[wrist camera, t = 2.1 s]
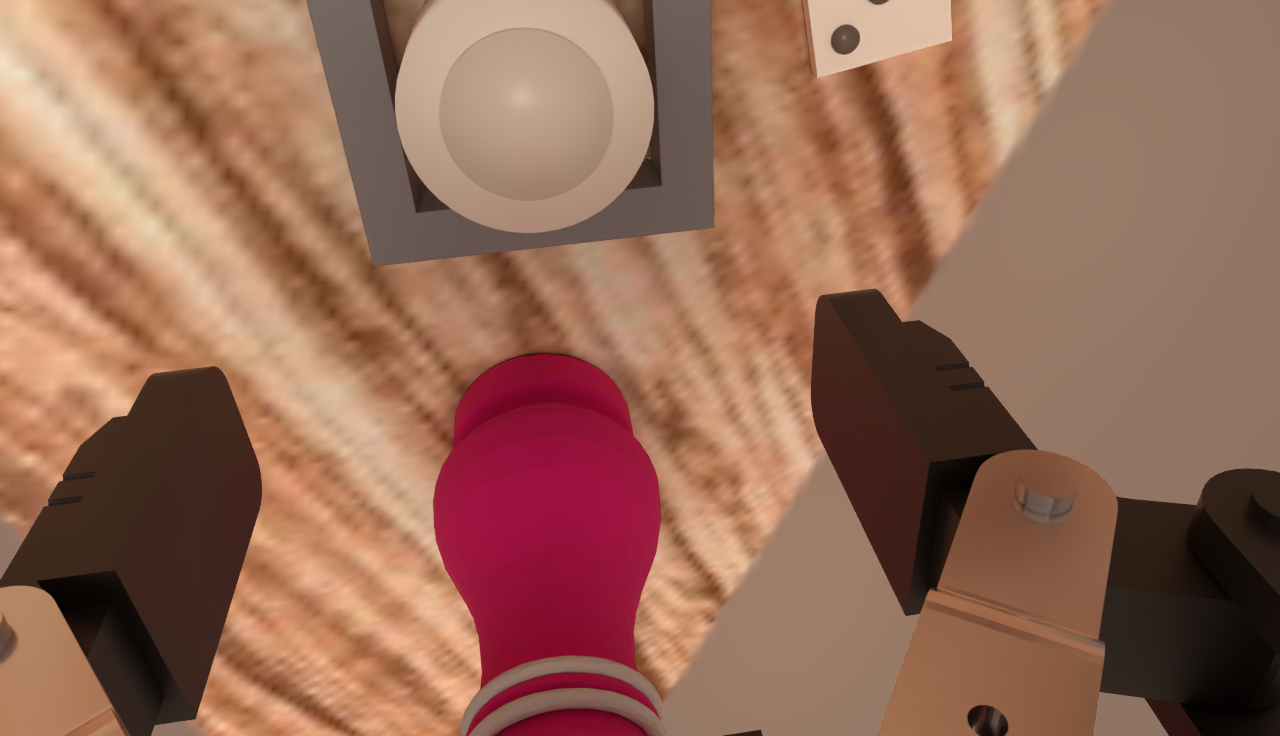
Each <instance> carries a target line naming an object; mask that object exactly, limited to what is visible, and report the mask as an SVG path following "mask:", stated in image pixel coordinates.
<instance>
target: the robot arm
mask: <svg viewBox="0 0 1280 736" xmlns="http://www.w3.org/2000/svg"><path fill="white" fill-rule="evenodd" d="M811 405H812V413H813V418H814V423H815V426H816V430H817V433H818V435H819V437H820V439H821V442H822V444H823V446H824V448H825V450H826V452H827V454H828V456H829V458H830V460H831V462H832V464H833V466H834V468H835V470H836V472H837V475H838V477H839V479H840V481H841V483H842V485H843V487H844V489H845V491H846V493H847V495H848V497H849V500H850V502H851V504H852V506H853V508H854V510H855V512H856V514H857V516H858V518H859V520H860V522H861V524H862V526H863V528H864V531H865V533H866V535H867V537H868V539H869V541H870V543H871V545H872V547H873V549H874V551H875V553H876V555H877V557H878V559H879V562H880V563H881V566H882V568H883V570H884V572H885V574H886V576H887V578H888V580H889V582H890V585H891V587H892V589H893V591H894V593H895V595H896V597H897V599H898V601H899V603H900V605H901V607H902V609H903V611H904V614H905V615H906V616H909V615H915V614H920V616H919V618H918V621H917V624H916V627H915V630H914V632H913V635H912V638H911V641H910V644H909V647H908V649H907V652H906V655H905V658H904V661H903V664H902V666H901V669H900V672H899V675H898V678H897V681H896V684H895V686H894V689H893V692H892V695H891V698H890V700H889V703H888V706H887V709H886V712H885V715H884V717H883V720H882V723H881V726H880V729H879V732H878V734H877V736H1093V733H1094V726H1095V720H1096V713H1097V706H1098V699H1099V692H1105V693H1112V694H1119V695H1127V696H1134V697H1142V698H1145V700H1146V701H1147V703H1148V704H1149V706H1150V707H1151V709H1152V710H1153V712H1154V713H1155V715H1156V716H1157V718H1158V720H1159V721H1160V723H1161V724H1162V726H1163V727H1164V729H1165V730H1166V732H1167V733H1168V735H1169V736H1280V473H1279V472H1275V471H1269V470H1263V469H1234V470H1229V471H1225V472H1222V473H1220V474H1217V475H1215V476H1214V477H1212V478H1211V479H1210V480H1209V481H1208V482H1207V483H1206V484H1205V486H1204V488H1203V490H1202V493H1201V496H1200V498H1199V501H1198V504H1197V505H1188V504H1177V503H1167V502H1157V501H1146V500H1136V499H1135V500H1134V499H1128V498H1121V497H1116V495H1115V493H1114V492H1113V490H1112V488H1111V486H1110V485H1109V484H1108V483H1107V482H1106V480H1105V479H1104V478H1102V477H1101V476H1100V475H1099V474H1098V473H1097V472H1095V471H1094V470H1092V469H1091V468H1089V467H1088V466H1086V465H1084V464H1082V463H1080V462H1079V461H1076V460H1074V459H1071V458H1069V457H1067V456H1063V455H1060V454H1057V453H1052V452H1047V451H1041V450H1038V449H1037V448H1036V447H1035V446H1034V444H1033V443H1032V442H1031V440H1030V439H1029V438H1028V437H1027V436H1026V434H1025V433H1024V432H1023V430H1022V429H1021V428H1020V427H1019V425H1018V424H1017V423H1016V422H1015V420H1014V419H1013V418H1012V417H1011V415H1010V414H1009V413H1008V411H1007V410H1006V409H1005V407H1004V406H1003V405H1002V404H1001V402H1000V401H999V400H998V399H997V397H996V396H995V395H994V394H993V392H992V391H991V390H990V388H989V387H985V386H984V381H983V380H982V378H981V377H980V376H979V375H978V373H977V372H976V371H975V369H974V368H973V367H969V362H968V361H967V359H966V358H965V357H964V355H963V354H962V353H961V352H960V350H959V349H958V348H957V347H956V346H955V344H954V343H953V342H952V340H951V339H950V338H948V337H946V336H945V335H943V334H941V333H940V332H938V331H936V330H935V329H933V328H931V327H929V326H928V325H926V324H925V323H923V322H921V321H920V320H917V321H909V322H902V321H901V320H900V319H899V317H898V316H897V315H896V313H895V312H894V310H893V309H892V308H891V306H890V305H889V304H888V302H887V301H886V299H885V298H884V297H883V295H882V294H881V293H880V292H879V291H878V290H877V289H869V290H861V291H852V292H844V293H836V294H827V295H821V296H820V297H819V299H818V301H817V304H816V311H815V327H814V344H813V361H812V378H811ZM261 498H262V482H261V473H260V468H259V464H258V461H257V458H256V455H255V452H254V450H253V447H252V444H251V442H250V439H249V436H248V434H247V431H246V428H245V426H244V423H243V420H242V418H241V415H240V413H239V410H238V407H237V405H236V402H235V399H234V397H233V394H232V391H231V389H230V386H229V384H228V381H227V379H226V377H225V375H224V374H223V372H222V371H221V370H220V369H219V368H218V367H215V366H212V367H203V368H195V369H187V370H178V371H170V372H161V373H154V374H152V375H151V376H150V377H149V378H148V379H147V381H146V383H145V384H144V386H143V388H142V390H141V392H140V394H139V395H138V397H137V399H136V401H135V403H134V404H133V406H132V408H131V410H130V412H129V414H128V415H127V416H122V417H114V418H112V419H111V420H110V421H108V422H107V423H106V424H105V425H104V426H103V427H101V428H100V429H99V430H98V431H97V432H96V433H94V434H93V435H92V436H91V437H90V438H89V439H87V440H86V441H85V442H84V443H83V444H82V445H80V447H79V449H78V450H77V452H76V454H75V455H74V457H73V459H72V460H71V462H70V464H69V465H68V467H67V469H66V471H65V472H64V474H63V481H60V482H58V484H57V486H56V487H55V489H54V491H53V492H52V494H51V496H50V497H49V499H48V503H49V505H48V506H46V507H44V508H43V509H42V511H41V513H40V514H39V516H38V518H37V519H36V521H35V523H34V524H33V526H32V528H31V529H30V531H29V533H28V535H27V536H26V538H25V540H24V541H23V543H22V545H21V546H20V548H19V550H18V551H17V553H16V555H15V556H14V558H13V560H12V562H11V563H10V565H9V567H8V568H7V570H6V572H5V573H4V575H3V577H2V578H1V580H0V736H151V734H152V731H153V728H154V725H159V724H166V723H172V722H179V721H186V720H193V719H196V715H197V712H198V709H199V706H200V702H201V699H202V696H203V692H204V689H205V686H206V683H207V679H208V676H209V673H210V670H211V666H212V663H213V660H214V657H215V653H216V650H217V647H218V643H219V640H220V637H221V634H222V630H223V627H224V624H225V621H226V617H227V614H228V611H229V608H230V604H231V601H232V598H233V594H234V591H235V588H236V585H237V581H238V578H239V575H240V572H241V568H242V565H243V562H244V559H245V555H246V552H247V549H248V545H249V542H250V539H251V536H252V532H253V529H254V526H255V523H256V519H257V516H258V513H259V509H260V505H261ZM725 736H762V733H761V730H756V731H750V732H744V733H738V734H731V735H725Z"/></svg>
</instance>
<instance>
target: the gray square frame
mask: <svg viewBox="0 0 1280 736" xmlns="http://www.w3.org/2000/svg"><path fill="white" fill-rule="evenodd" d="M307 4H308V8H309V12H310V16H311V20H312V24H313V28H314V32H315V36H316V40H317V44H318V48H319V52H320V55H321V59H322V63H323V67H324V71H325V75H326V79H327V83H328V87H329V91H330V95H331V99H332V103H333V107H334V110H335V114H336V118H337V122H338V126H339V130H340V134H341V138H342V142H343V146H344V150H345V154H346V158H347V162H348V166H349V169H350V173H351V177H352V181H353V185H354V189H355V193H356V197H357V201H358V205H359V209H360V213H361V217H362V221H363V224H364V228H365V232H366V236H367V240H368V244H369V248H370V252H371V256H372V260H373V264H374V266H383V265H392V264H400V263H409V262H418V261H427V260H435V259H444V258H453V257H462V256H470V255H479V254H488V253H497V252H506V251H514V250H523V249H532V248H541V247H549V246H558V245H567V244H576V243H584V242H593V241H602V240H611V239H619V238H628V237H637V236H646V235H655V234H663V233H672V232H681V231H690V230H698V229H707V228H714V181H713V123H712V65H711V7H710V0H643V6H644V23H645V41H646V59H647V69H648V72H649V76H650V80H651V84H652V90H653V98H654V122H653V129H652V135H651V147H652V160H650V161H643V162H642V164H641V166H640V168H639V169H638V171H637V173H636V174H635V176H634V178H633V179H632V181H631V182H630V183H629V184H628V186H627V187H626V188H625V190H624V191H623V192H622V193H621V194H620V195H619V196H618V197H617V198H616V199H615V200H614V201H613V202H611V203H610V204H609V205H608V206H606V207H605V208H604V209H602V210H601V211H600V212H598V213H596V214H595V215H593V216H591V217H590V218H588V219H586V220H584V221H581V222H579V223H577V224H575V225H572V226H569V227H565V228H562V229H559V230H553V231H547V232H539V233H518V232H508V231H503V230H497V229H494V228H490V227H487V226H484V225H481V224H479V223H476V222H474V221H472V220H470V219H467V218H465V217H464V216H462V215H460V214H459V213H457V212H455V211H454V210H452V209H451V208H449V207H448V206H447V205H446V204H444V203H443V202H442V201H440V200H439V199H438V198H437V197H436V196H435V195H434V194H433V193H432V192H431V191H430V190H429V189H428V188H427V187H426V185H421V183H420V179H419V176H418V175H417V173H416V172H415V170H414V168H413V167H412V165H411V163H410V162H409V160H408V157H407V155H406V153H405V150H404V148H403V146H402V143H401V139H400V136H399V132H398V128H397V121H396V114H395V92H396V84H397V78H398V74H397V69H396V64H395V60H394V55H393V50H392V45H391V41H390V36H389V31H388V26H387V22H386V17H385V12H384V7H383V3H382V0H307Z"/></svg>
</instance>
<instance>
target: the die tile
mask: <svg viewBox="0 0 1280 736" xmlns="http://www.w3.org/2000/svg"><path fill="white" fill-rule="evenodd" d="M802 1H803V8H804V16H805V24H806V31H807V39H808V47H809V55H810V62H811V70H812V73H813V74H814V75H815V76H816V77H817V78H820V77H824V76H827V75H831V74H834V73H838V72H842V71H845V70H849V69H852V68H856V67H859V66H863V65H866V64H870V63H874V62H877V61H881V60H884V59H888V58H891V57H895V56H898V55H902V54H905V53H909V52H913V51H916V50H920V49H923V48H927V47H930V46H934V45H937V44H941V43H945V42H948V41H952V26H951V0H802Z"/></svg>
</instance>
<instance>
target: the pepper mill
mask: <svg viewBox="0 0 1280 736" xmlns="http://www.w3.org/2000/svg"><path fill="white" fill-rule="evenodd" d="M433 509H434V528H435V535H436V542H437V545H438V548H439V551H440V554H441V557H442V560H443V563H444V566H445V569H446V571H447V572H448V574H449V576H450V578H451V579H452V581H453V583H454V584H455V586H456V588H457V589H458V591H459V593H460V595H461V596H462V598H463V600H464V601H465V603H466V605H467V607H468V609H469V611H470V613H471V615H472V617H473V619H474V622H475V626H476V629H477V633H478V636H479V643H480V655H481V667H482V677H481V688H480V690H479V691H478V693H477V694H476V695H475V696H474V698H473V699H472V700H471V702H470V703H469V705H468V707H467V708H466V710H465V712H464V715H463V718H462V723H461V736H667V733H666V730H665V728H664V726H663V724H662V721H663V706H662V702H661V699H660V697H659V695H658V693H657V691H656V690H655V688H654V686H653V685H652V684H651V683H650V682H649V681H648V680H647V679H646V678H645V677H644V676H642V675H641V674H640V673H638V670H637V667H636V663H635V648H634V625H635V618H636V612H637V608H638V604H639V601H640V597H641V593H642V590H643V587H644V585H645V582H646V579H647V577H648V574H649V571H650V569H651V566H652V563H653V561H654V558H655V555H656V551H657V544H658V537H659V530H660V523H661V507H660V496H659V485H658V479H657V475H656V472H655V469H654V466H653V464H652V462H651V460H650V458H649V456H648V454H647V453H646V451H645V450H644V449H643V447H642V446H641V444H640V443H639V442H638V441H637V440H636V439H635V438H634V437H633V431H632V425H631V420H630V415H629V410H628V407H627V403H626V401H625V399H624V397H623V395H622V393H621V392H620V390H619V389H618V387H617V386H616V385H615V384H614V382H613V381H612V380H611V379H610V378H609V377H608V376H607V375H606V374H604V373H603V372H602V371H600V370H599V369H597V368H596V367H594V366H592V365H590V364H588V363H585V362H583V361H580V360H578V359H575V358H571V357H568V356H561V355H548V354H538V355H531V356H524V357H517V358H515V359H512V360H509V361H507V362H504V363H502V364H500V365H497V366H495V367H493V368H492V369H490V370H489V371H487V372H486V373H484V374H483V375H482V376H480V377H479V378H478V379H477V380H476V381H475V382H474V383H473V384H472V385H471V386H470V387H469V388H468V390H467V391H466V393H465V394H464V396H463V397H462V399H461V401H460V403H459V405H458V408H457V411H456V415H455V423H454V438H453V450H452V452H451V453H450V455H449V456H448V458H447V459H446V461H445V462H444V464H443V466H442V468H441V471H440V474H439V477H438V479H437V482H436V486H435V493H434V500H433Z"/></svg>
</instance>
